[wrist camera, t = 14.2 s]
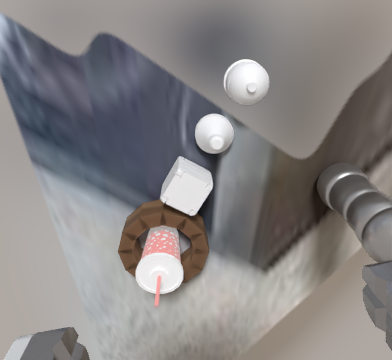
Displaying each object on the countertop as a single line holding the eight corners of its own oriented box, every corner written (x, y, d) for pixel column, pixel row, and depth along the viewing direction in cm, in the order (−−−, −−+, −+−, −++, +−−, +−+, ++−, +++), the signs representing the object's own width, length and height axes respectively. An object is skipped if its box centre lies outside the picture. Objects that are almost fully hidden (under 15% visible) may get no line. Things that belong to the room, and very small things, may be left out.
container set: (193, 198, 46) (194, 217, 41) (161, 182, 45) (158, 200, 40) (273, 73, 39) (286, 78, 34) (238, 50, 38) (245, 52, 33)
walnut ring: (195, 191, 45) (196, 204, 42) (213, 258, 50) (215, 276, 47) (112, 210, 46) (106, 225, 42) (139, 274, 51) (135, 293, 48)
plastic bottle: (328, 208, 47) (419, 315, 29) (302, 178, 45) (382, 273, 27) (366, 180, 45) (487, 276, 27) (340, 148, 43) (453, 228, 25)
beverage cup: (147, 214, 47) (133, 281, 34) (187, 222, 47) (189, 290, 35) (140, 247, 49) (125, 321, 36) (178, 254, 50) (177, 329, 37)
